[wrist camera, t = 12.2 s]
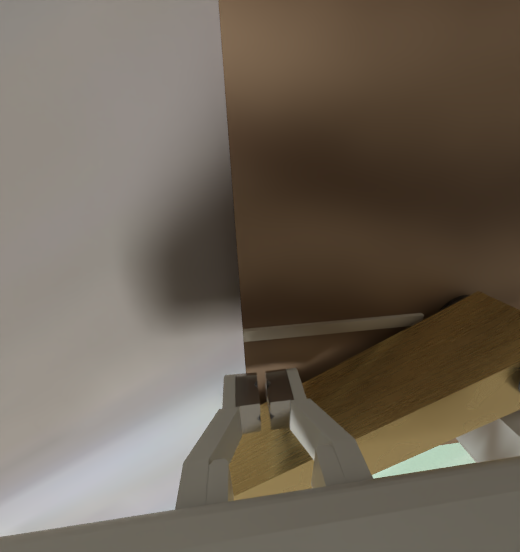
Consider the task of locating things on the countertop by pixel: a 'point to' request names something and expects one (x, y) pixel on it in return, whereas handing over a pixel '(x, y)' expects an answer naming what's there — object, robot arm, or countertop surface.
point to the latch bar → (399, 395)
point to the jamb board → (371, 174)
